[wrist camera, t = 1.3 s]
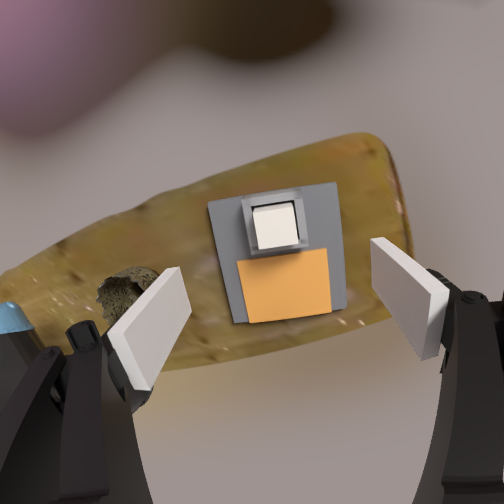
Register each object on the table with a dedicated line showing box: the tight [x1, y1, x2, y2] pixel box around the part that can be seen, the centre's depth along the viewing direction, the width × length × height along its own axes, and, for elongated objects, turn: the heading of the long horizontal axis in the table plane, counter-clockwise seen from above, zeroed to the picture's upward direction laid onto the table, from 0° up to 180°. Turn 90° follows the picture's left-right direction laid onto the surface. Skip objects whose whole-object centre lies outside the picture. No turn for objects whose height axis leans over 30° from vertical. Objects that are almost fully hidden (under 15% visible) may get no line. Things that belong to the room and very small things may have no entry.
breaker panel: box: [207, 182, 347, 323], centre depth 31 cm, size 14×15×4 cm
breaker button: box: [253, 202, 298, 249], centre depth 27 cm, size 4×3×3 cm
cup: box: [96, 267, 160, 327], centre depth 31 cm, size 8×7×8 cm
